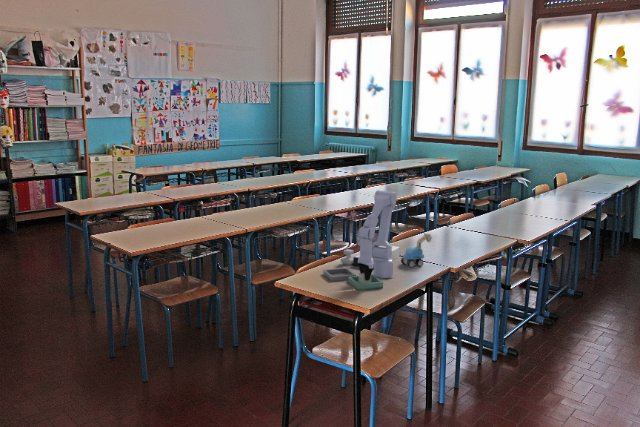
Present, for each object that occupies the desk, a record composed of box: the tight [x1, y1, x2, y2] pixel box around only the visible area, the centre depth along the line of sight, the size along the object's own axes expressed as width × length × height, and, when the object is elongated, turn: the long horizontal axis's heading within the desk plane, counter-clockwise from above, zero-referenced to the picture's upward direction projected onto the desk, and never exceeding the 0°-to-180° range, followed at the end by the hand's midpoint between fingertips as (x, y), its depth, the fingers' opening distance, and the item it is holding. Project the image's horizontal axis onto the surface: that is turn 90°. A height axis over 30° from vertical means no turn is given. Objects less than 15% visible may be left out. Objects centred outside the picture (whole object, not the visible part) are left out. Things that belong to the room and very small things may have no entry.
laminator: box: [352, 245, 401, 271], centre depth 313 cm, size 34×12×6 cm, turn 146°
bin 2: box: [347, 274, 384, 292], centre depth 272 cm, size 13×13×3 cm
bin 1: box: [322, 267, 357, 283], centre depth 284 cm, size 13×13×3 cm
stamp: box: [340, 248, 355, 266], centre depth 307 cm, size 9×7×8 cm
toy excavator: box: [400, 232, 432, 268], centre depth 307 cm, size 9×17×17 cm, turn 112°
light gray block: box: [358, 272, 371, 284], centre depth 272 cm, size 5×4×5 cm
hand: (365, 278), depth 272 cm, fingers open, 4 cm apart
